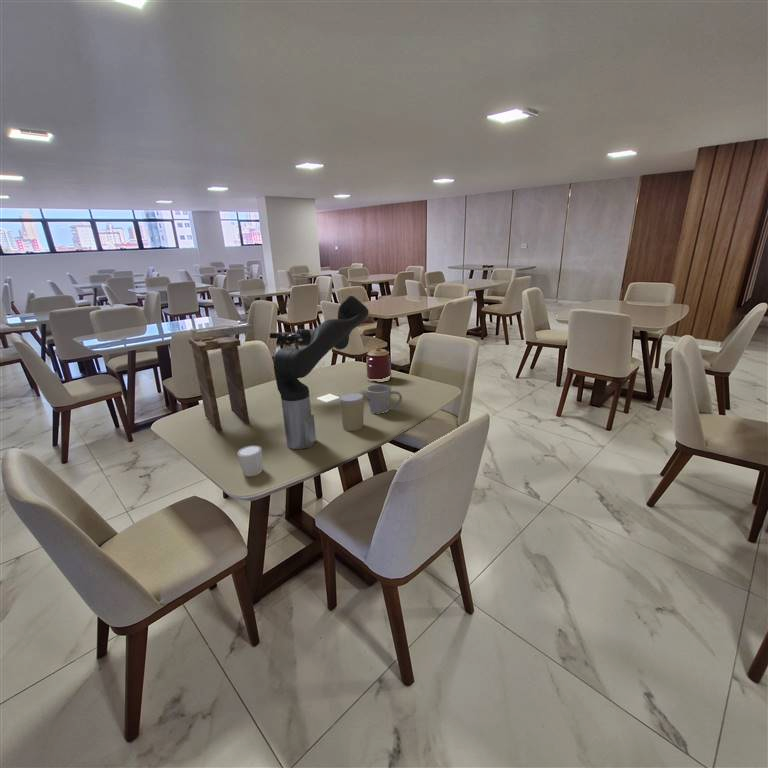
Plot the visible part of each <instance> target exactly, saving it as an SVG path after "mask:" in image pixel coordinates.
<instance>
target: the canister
mask: <svg viewBox="0 0 768 768" xmlns="http://www.w3.org/2000/svg"><path fill="white" fill-rule="evenodd" d="M366 354H367V356H366V357H365V359H366V378H367V377H368V378H369V379H383V378H386V377H388V376H390V375H391V376H392V363H391V358H392V357H391V355H389V354H390V352H389V351H388V350H386V349H383V348H381V346H376V347H375V348H373V349H371V350H369V351H368V352H367V353H366Z"/></svg>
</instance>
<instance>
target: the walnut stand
mask: <svg viewBox="0 0 768 768" xmlns="http://www.w3.org/2000/svg"><path fill="white" fill-rule="evenodd" d="M188 342H189V343H188V344H189V345H191V349H192V355H193V359H194V365H195V369H196V375H197V379H198V380H197V381H198V385H199V389H200V395H201V400H202V406H203V410H204V416H205V418H206V417H207V418H206V420H207V421H208V420H209V421H210V422H209V421H208V422H209V424H210V425H211V424H212V425H211V426H212V427H213V429H214V428H215V429H214V430H215V431H216V432H218V430H219V431H222V423H221V417H220V412H219V405H218V401H217V397H216V392H215V385H214V379H213V375H212V369H211V363H210V359H209V352H208V351H215V350H221V356H222V357H221V358H222V361H223V362H222V363H223V368H224V375H225V379H226V385H227V391H228V398H229V402H230V403H229V404H230V408H231V412H232V411H233V412H234V413H235V414H236V415H237V416H238V417H239V418H240V419H241V420H240V421H241V422H242V423H243V424H244V423H245V424H248V422H249V423H250V418H249V411H248V405H247V399H246V392H245V386H244V380H243V379H244V378H243V374H242V367H241V360H240V355H239V349H238V348H239V347H240V346H241V340H240V339H239V338H236V337H234V336H233V335H231V336H223V337H216V338H213V337H210V338H202V339H201V340H193V338H192V337H188ZM233 412H232V413H233ZM234 413H233V414H234ZM235 414H234V415H235ZM236 415H235V416H236ZM237 416H236V417H237ZM238 417H237V418H238ZM239 418H238V419H239Z"/></svg>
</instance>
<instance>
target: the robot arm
mask: <svg viewBox="0 0 768 768" xmlns="http://www.w3.org/2000/svg"><path fill="white" fill-rule="evenodd" d="M368 316H369V309H368V308H367V306H366V305H365V304H363V303H362V302H361V301H360V300H359V299H358V298H356V297H355V296H353V295H349V296H347V297H346V298H345V299H343V301H341V303H340V305H339V307H338V311H337V318H336V319H335V318H332V319H331V318H330V319H326V320H324V321H323V322H321V323H320V324H319V325H318V326H316V327H315V328H314V329H309V328H308V329H306V328H305V329H303V328H299V329H297V330H296V332H292V331H291V332H287V331H286V332H285V331H283V332H280V331H278V332H277V333H276V332H275V333H274V332H270V333H269V338H270V339H276V341H277V342H286V343H296V345H297V346H299V347H302V348H287V347H286V348H280V349H278V350H277V351H276V352H275V354H274V357H273V371H274V375H275V380H276V381H275V382H276V386H277V387H276V388H277V390H278V392H279V394H280V399H281V409H282V417H283V423H284V424H283V425H284V431H285V440H286V446H287V448H289V449H293V450H301V449H305V448H309V449H310V448H311V447H312V446H313V445H314V443H315V442H317V441H316V440H317V434H316V427H315V426H316V425H315V415H314V414H312V408H311V396H310V389H309V387H308V386H307V385H306V384H304V383H303V382H302V381H300V379H302V378H305V377H306V376H308V375H309V374H310V373H311V372H312V371H313V370H314V368H315V367H316V366H317V365H318V363H319V362H320V361H321V359H323V358H324V357H325V356H326V355H327V354H328V353H329V352H330V351H332V349H333V348H335V349H336V350H338V351H340V350H341V351H342V350H343V349H345V348H347V347H348V345H349V342H350V334H351V333H352V331H353V330H354V329H355V328H357V327H358V326H360V325H361V324H363V322H364V321H365V320H366V319H367V317H368Z"/></svg>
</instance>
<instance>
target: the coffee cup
mask: <svg viewBox="0 0 768 768" xmlns="http://www.w3.org/2000/svg"><path fill="white" fill-rule="evenodd" d="M364 400H365V398H364V395H363V394H362V393H357V392H347V393H343V394H341V395H339V397H338V400H337V401H338V403H339V405H338V406H339V411H340V412H339V413H340V419H341V425H342V429H343V430H345V431H347V432H357V431H360V430H362V429H363V428H362V427H364V411H365V410H364V407H365V405H364V402H365V401H364ZM359 429H360V430H359Z"/></svg>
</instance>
